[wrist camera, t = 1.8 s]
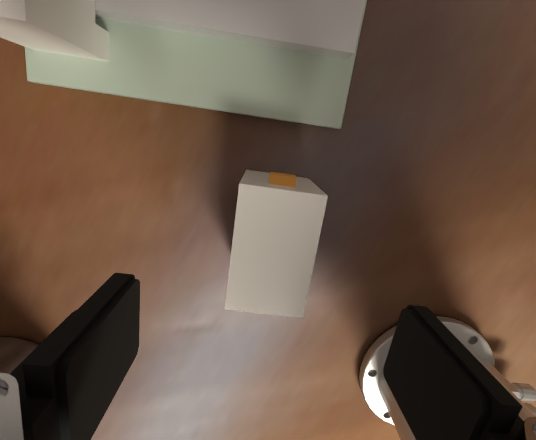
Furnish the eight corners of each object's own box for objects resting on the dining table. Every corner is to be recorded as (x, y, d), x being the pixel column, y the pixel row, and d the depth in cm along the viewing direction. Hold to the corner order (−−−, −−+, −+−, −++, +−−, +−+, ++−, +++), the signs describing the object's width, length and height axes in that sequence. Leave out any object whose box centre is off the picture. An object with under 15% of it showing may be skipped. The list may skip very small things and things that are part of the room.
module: (310, 170, 23) (330, 185, 16) (292, 268, 25) (303, 318, 18) (247, 161, 22) (240, 172, 16) (235, 261, 25) (224, 309, 18)
